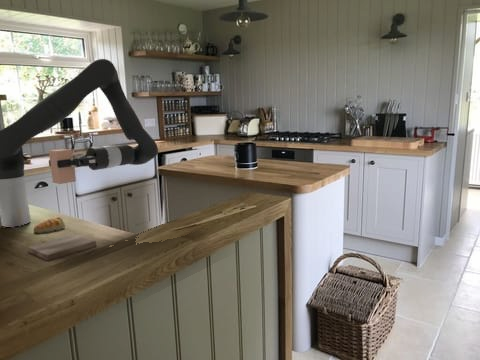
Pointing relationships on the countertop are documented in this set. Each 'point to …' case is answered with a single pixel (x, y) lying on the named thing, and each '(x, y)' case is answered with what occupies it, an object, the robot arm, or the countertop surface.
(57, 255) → the walnut board
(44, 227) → the pastry
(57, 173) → the tall block
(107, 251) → the countertop surface
